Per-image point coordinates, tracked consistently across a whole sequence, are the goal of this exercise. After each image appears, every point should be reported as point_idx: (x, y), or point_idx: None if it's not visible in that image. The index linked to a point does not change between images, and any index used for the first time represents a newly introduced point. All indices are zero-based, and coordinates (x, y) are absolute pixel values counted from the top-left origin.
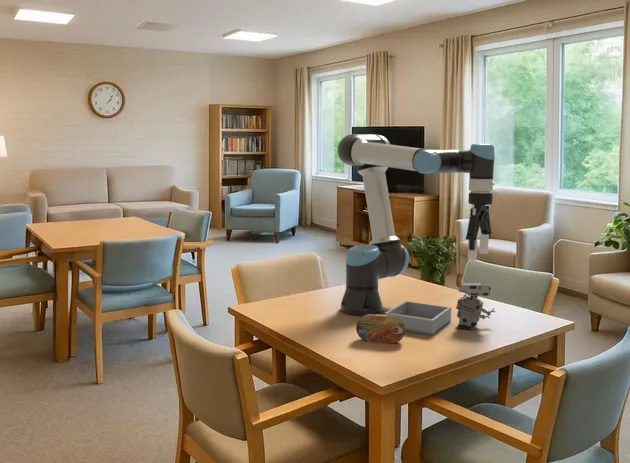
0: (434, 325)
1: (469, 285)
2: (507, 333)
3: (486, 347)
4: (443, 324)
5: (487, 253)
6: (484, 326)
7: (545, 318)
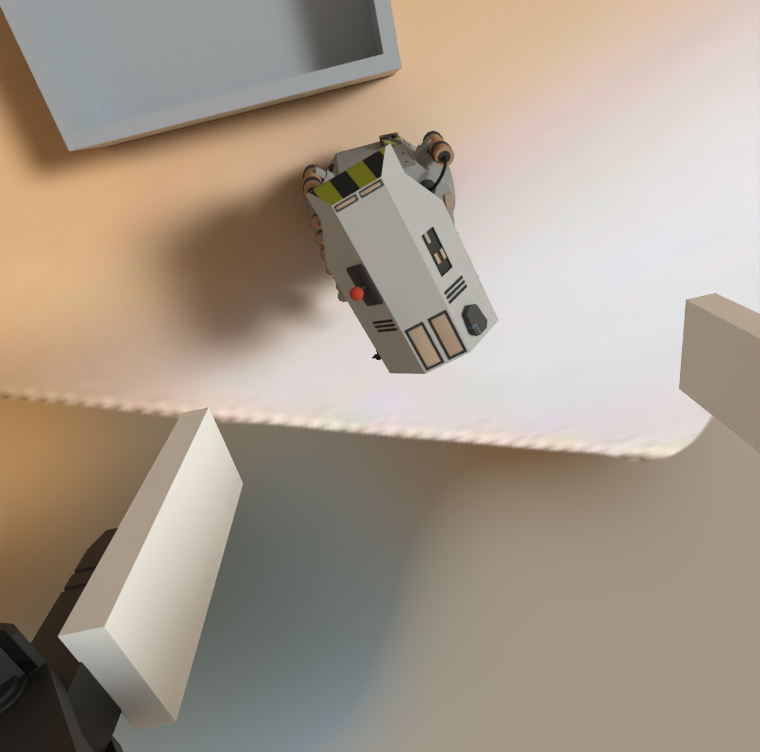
0: (111, 142)
1: (359, 260)
2: None
3: (184, 389)
4: (268, 105)
5: (695, 388)
6: None
7: None
